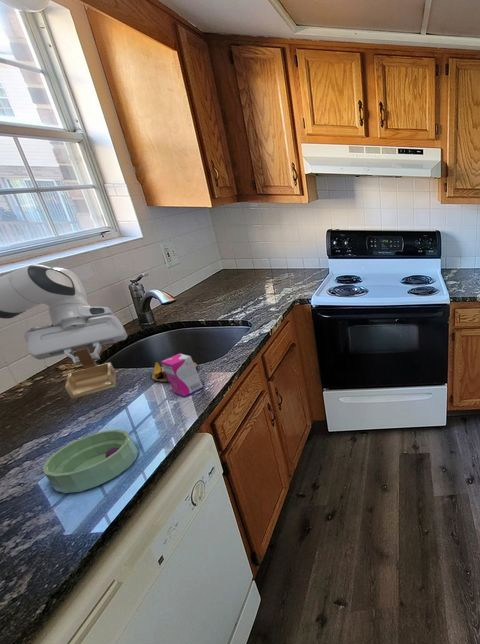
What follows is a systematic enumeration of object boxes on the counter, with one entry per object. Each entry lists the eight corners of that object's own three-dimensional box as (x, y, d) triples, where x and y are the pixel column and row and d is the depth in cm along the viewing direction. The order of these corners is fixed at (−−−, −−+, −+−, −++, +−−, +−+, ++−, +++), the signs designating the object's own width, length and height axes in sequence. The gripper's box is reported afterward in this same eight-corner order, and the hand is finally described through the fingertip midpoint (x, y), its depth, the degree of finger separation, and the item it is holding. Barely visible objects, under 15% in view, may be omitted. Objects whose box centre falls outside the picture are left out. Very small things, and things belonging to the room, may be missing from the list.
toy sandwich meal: (197, 360, 131) (192, 349, 129) (198, 376, 121) (194, 364, 119) (154, 371, 124) (148, 359, 122) (152, 389, 114) (146, 376, 112)
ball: (121, 458, 84) (116, 464, 85) (127, 447, 86) (122, 453, 87) (105, 455, 82) (100, 461, 83) (112, 443, 85) (107, 450, 86)
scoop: (75, 380, 104) (59, 352, 100) (115, 369, 109) (102, 342, 105) (71, 399, 95) (54, 369, 91) (115, 386, 100) (101, 357, 97)
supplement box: (192, 384, 116) (180, 352, 111) (204, 388, 114) (191, 356, 109) (173, 393, 112) (159, 360, 107) (185, 398, 109) (171, 364, 104)
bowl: (44, 505, 75) (30, 486, 72) (67, 461, 86) (56, 443, 84) (132, 477, 81) (122, 458, 79) (143, 439, 92) (134, 422, 90)
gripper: (16, 325, 97) (29, 370, 94) (115, 306, 109) (129, 345, 106) (28, 335, 102) (40, 378, 100) (121, 315, 114) (135, 354, 111)
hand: (87, 361), depth 103 cm, fingers closed on scoop, 2 cm apart
